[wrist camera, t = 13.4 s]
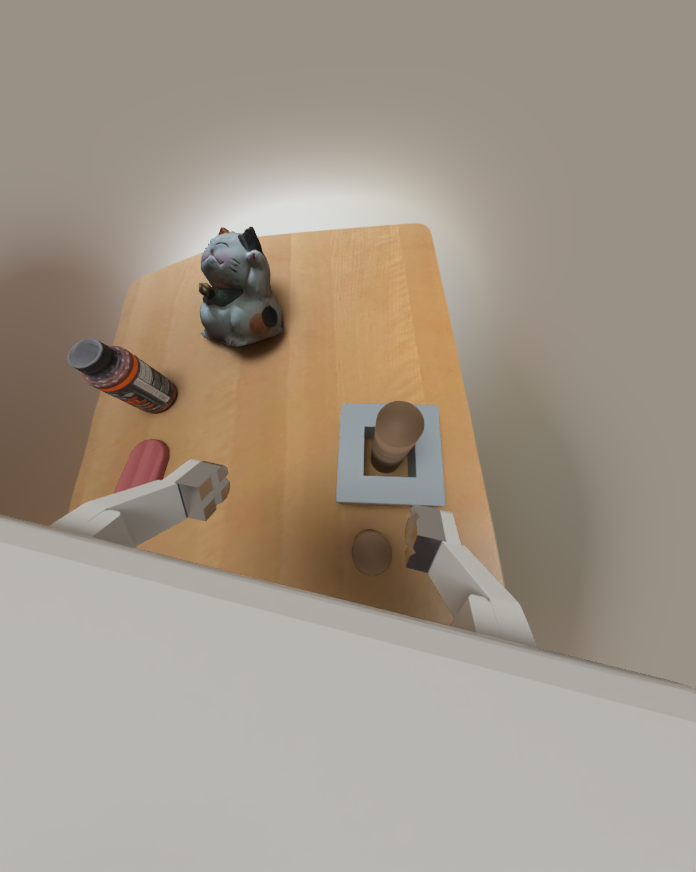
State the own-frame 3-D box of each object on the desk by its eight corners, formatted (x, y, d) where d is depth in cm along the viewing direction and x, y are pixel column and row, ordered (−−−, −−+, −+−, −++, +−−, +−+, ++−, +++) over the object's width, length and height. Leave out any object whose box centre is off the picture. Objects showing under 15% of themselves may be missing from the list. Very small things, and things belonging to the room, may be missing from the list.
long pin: (400, 473, 34) (425, 446, 20) (370, 472, 34) (375, 445, 20) (399, 444, 35) (423, 401, 21) (370, 444, 35) (376, 400, 22)
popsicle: (89, 548, 32) (135, 436, 36) (102, 547, 33) (144, 439, 37) (128, 555, 31) (169, 440, 36) (138, 553, 33) (177, 443, 37)
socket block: (433, 507, 32) (445, 505, 27) (339, 503, 33) (336, 501, 28) (428, 419, 36) (438, 405, 31) (343, 418, 36) (341, 403, 32)
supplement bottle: (137, 415, 38) (49, 376, 28) (145, 381, 40) (65, 332, 29) (175, 413, 38) (101, 373, 27) (181, 379, 40) (114, 328, 29)
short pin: (386, 565, 30) (391, 576, 25) (353, 563, 31) (351, 574, 25) (385, 530, 32) (391, 533, 26) (354, 528, 32) (352, 531, 26)
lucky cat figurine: (191, 331, 43) (148, 224, 33) (254, 314, 49) (233, 221, 39) (235, 361, 35) (194, 234, 26) (302, 337, 41) (291, 228, 32)
